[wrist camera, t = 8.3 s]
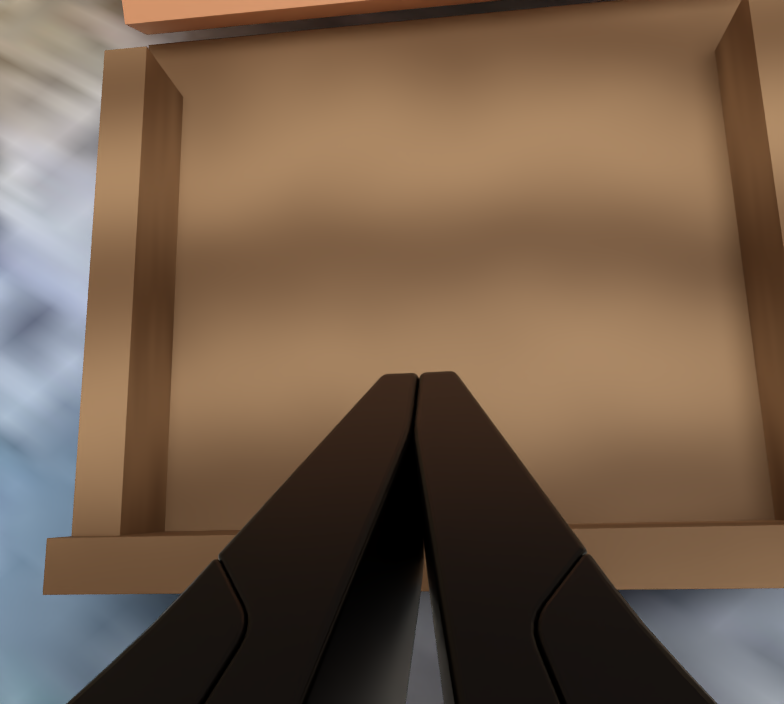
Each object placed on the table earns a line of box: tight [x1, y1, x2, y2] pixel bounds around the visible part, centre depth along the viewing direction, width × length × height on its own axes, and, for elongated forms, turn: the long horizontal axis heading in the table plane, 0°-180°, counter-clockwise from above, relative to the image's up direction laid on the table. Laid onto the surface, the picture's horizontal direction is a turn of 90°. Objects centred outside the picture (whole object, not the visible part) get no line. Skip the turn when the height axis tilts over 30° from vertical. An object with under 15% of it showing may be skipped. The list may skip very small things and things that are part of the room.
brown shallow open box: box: [43, 0, 784, 595], centre depth 19 cm, size 16×18×6 cm
